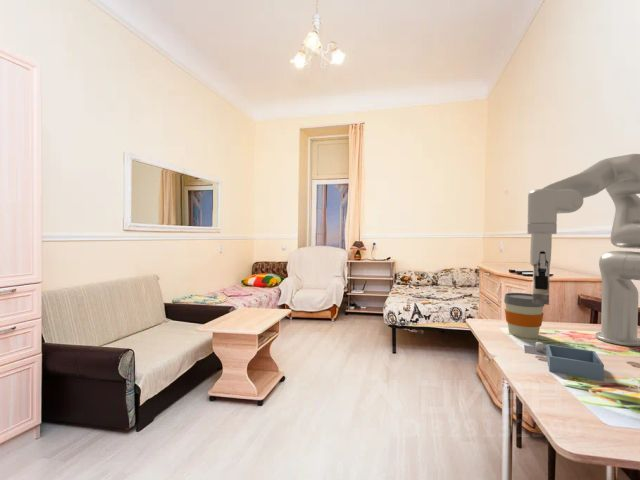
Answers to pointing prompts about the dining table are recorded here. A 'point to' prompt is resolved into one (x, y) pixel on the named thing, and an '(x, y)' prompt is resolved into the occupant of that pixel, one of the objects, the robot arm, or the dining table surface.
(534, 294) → the strut
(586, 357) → the bin
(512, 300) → the reusable coffee cup
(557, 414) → the dining table surface
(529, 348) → the stud plate
